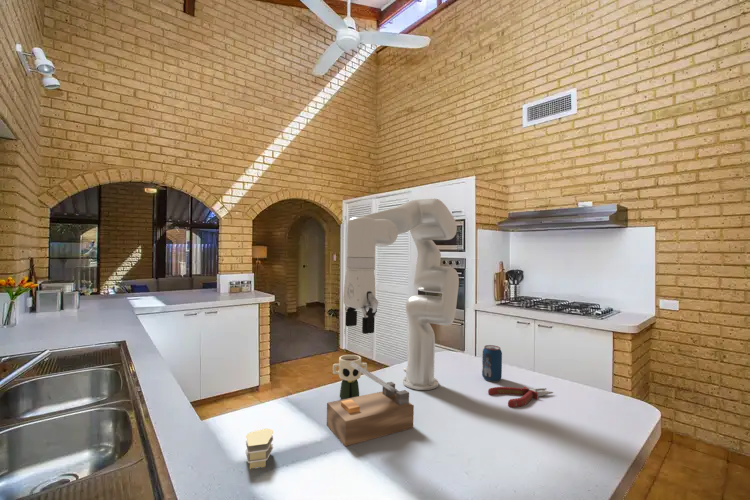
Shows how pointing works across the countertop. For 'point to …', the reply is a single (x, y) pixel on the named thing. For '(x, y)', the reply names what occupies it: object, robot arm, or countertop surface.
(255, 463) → the pale yellow faceted block
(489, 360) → the soda can
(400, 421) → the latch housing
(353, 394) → the character mug
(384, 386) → the latch lever
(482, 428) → the countertop surface
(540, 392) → the pliers
